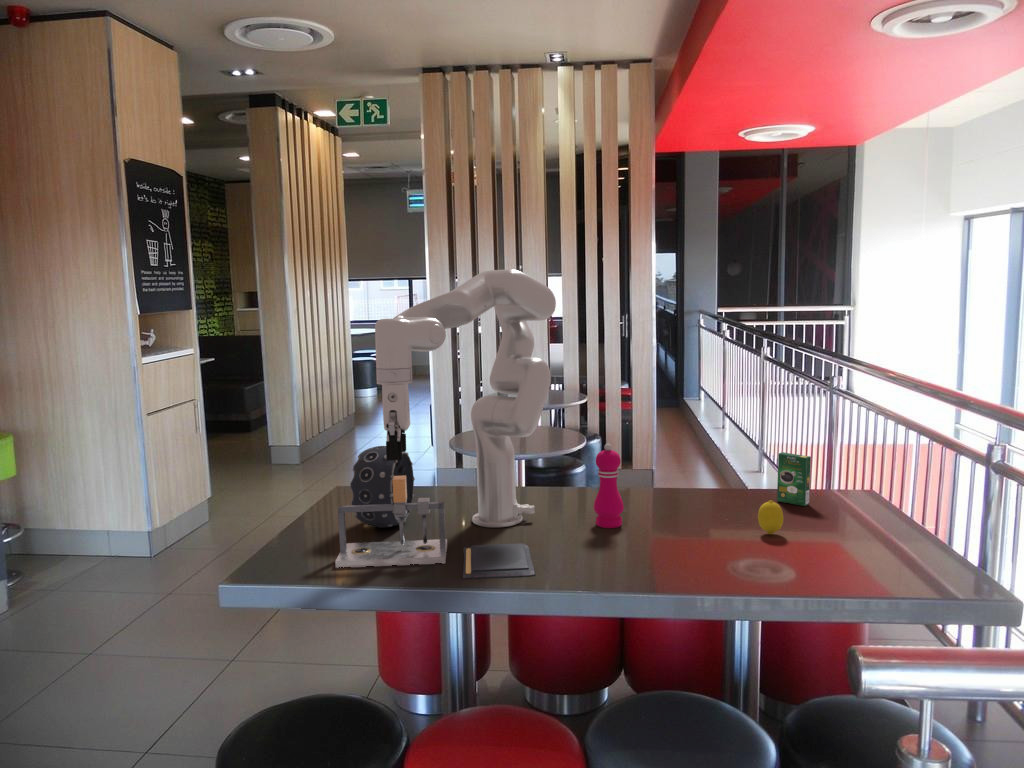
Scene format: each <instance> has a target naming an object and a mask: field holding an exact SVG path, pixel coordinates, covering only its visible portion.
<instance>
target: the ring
mask: <svg viewBox="0 0 1024 768" xmlns="http://www.w3.org/2000/svg"><path fill="white" fill-rule="evenodd" d="M413 464H414V462H413V461H412V460H411V458H410V456H409V452H407V451H405V452H402V460H390V461H388V460H387V458H386V445H379V446H378V445H377V446H373V447H372V446H371V447H370V448H367V449H365V450H363V451H362V452H360V453H359V454H358V455H357V461H356V462H355V463H354V465H353V466H352V472H353V476H352V479H351V481H350V484H349V488H350V490H351V493H352V497H351V500H350V504H351V505H376V504H394V502H393V478H394V476H406V483H407V503H413V501H414V500H413V499H414V497H415V494H414V489H415V479H416V478H415V476H414V468H413ZM351 505H350V506H351ZM411 512H412V510H407V515H406V516H404V517H403V523H405V522H406V521H407V518H408V516H409V514H410V513H411ZM354 516H355V518H356V519H357V520H358V521H359V522H361V523H363V524H364V525H366V526H368V527H369V526H370V527H374V528H384V529H385V528H391V527H396V526H399V517H395V512H394V511H372V512H354Z"/></svg>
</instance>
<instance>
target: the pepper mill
mask: <svg viewBox="0 0 1024 768" xmlns="http://www.w3.org/2000/svg"><path fill="white" fill-rule="evenodd" d="M603 448H604V449H603V450H601V451H599V452H597V455H596V458H595V465H596V466H597V468H598V470H597V476H598V477H599V490H598V493H597V495H596V497H595V499H594V502H593V510H594V512H595V514H596V515H597V516H596V517H595V524H596V526H598V527H599V528H604V529H615V528H619V527H621V526H622V524H623V518H622V516H620V515H622V513H623V512H624V509H625V507H624V502H623V499H622V496H621V494H620V492H619V490H618V482H617V479H618V477H619V470H618V468H619V467H620V466H621V463H622V461H621V456H620V454H619V453H618V452H617V451H615V450H614V449H613V447H612V445H611V444H610V443H605V445H604V447H603ZM612 449H613V450H612Z"/></svg>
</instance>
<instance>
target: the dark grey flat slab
mask: <svg viewBox="0 0 1024 768" xmlns="http://www.w3.org/2000/svg"><path fill="white" fill-rule="evenodd" d="M463 549H464V566H463V565H462V580H483V579H509V578H510V579H511V578H530V577H536V571H535V567H534V562H533V559H532V555H531V554H532V553H531V549H530V547H529V545H526V544H525V543H522V542H521V543H520V542H518V543H500V544H496V543H495V544H478V545H476V544H475V545H470V547H468V546H467V547H463ZM470 578H472V579H470Z"/></svg>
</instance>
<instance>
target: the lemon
mask: <svg viewBox="0 0 1024 768" xmlns="http://www.w3.org/2000/svg"><path fill="white" fill-rule="evenodd" d="M783 513H784V512H783V509H782V507H781V506H780V504H778V503H777V502H775V501H773V500H772V499H771V500H770V499H769V500H768V501H766V502H764V503H763V504H761V505H760V507H759V509H758V513H757V520H758V524H759V527H760V528H761V529H762V530H763V531H764V532H767V534H768V535H773V534H774V533H776V532H778V531H779V530H781V528H782V526H783V525H784V520H785V519H784V514H783Z"/></svg>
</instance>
